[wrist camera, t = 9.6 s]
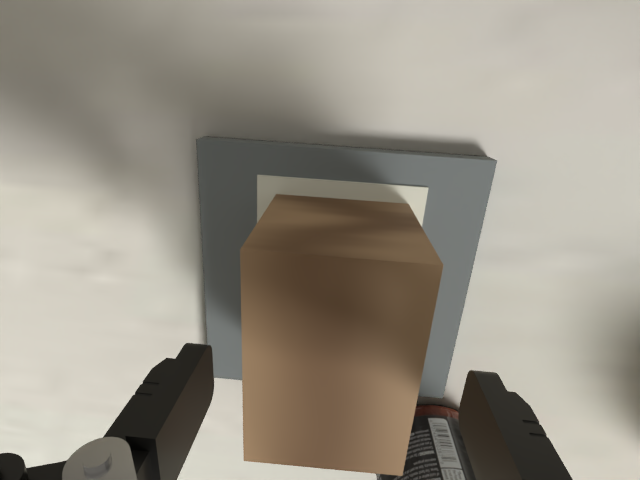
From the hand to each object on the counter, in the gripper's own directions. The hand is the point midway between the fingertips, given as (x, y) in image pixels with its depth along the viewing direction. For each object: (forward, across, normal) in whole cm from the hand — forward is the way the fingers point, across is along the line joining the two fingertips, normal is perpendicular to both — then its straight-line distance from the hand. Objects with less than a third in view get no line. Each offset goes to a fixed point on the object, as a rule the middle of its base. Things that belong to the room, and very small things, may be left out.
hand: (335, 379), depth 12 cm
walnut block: (+6, 0, 0) cm, 6 cm away
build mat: (+7, 0, 0) cm, 7 cm away
